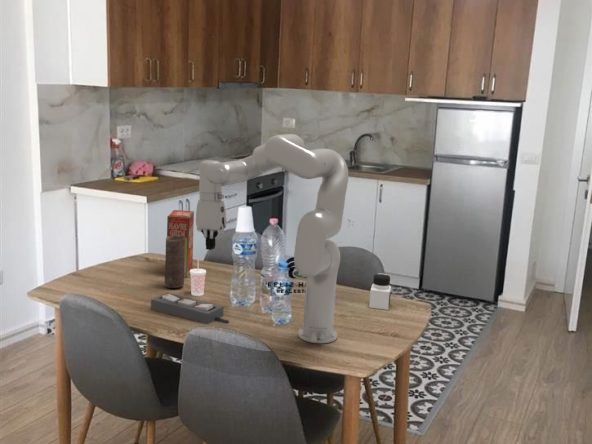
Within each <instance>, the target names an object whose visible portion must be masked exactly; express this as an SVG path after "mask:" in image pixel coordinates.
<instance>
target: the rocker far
mask: <svg viewBox="0 0 592 444" xmlns="http://www.w3.org/2000/svg"><path fill="white" fill-rule="evenodd" d="M171 294H172V293H171ZM171 294H166V295H164V296H162V299H163V300H166V301H170V302H176V301H178V300H180V298H177V297H175V296H173V295H171Z"/></svg>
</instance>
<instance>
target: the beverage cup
mask: <svg viewBox="0 0 592 444" xmlns="http://www.w3.org/2000/svg"><path fill="white" fill-rule="evenodd" d="M199 263H200V257H197V266H196V267H197V268H193V269H191V270H190V274H189V276H190V291H191V295H192V296H195V297H200V296H204V292H205V281H206V274H207V270H206V269H204V268H200V267H199V266H200V264H199Z"/></svg>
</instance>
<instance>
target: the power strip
mask: <svg viewBox="0 0 592 444" xmlns="http://www.w3.org/2000/svg"><path fill="white" fill-rule="evenodd" d="M166 294H171V295H173V296H175V297H177V298H180V300H183V299H188V300H192V301H196V304H195V305H193V306H186V305H182V304H178V301H180V300H178V301H176V302H170V301H166V300H163V299H162V296H164V295H166ZM199 304H213V308H212V309H210V310H207V311H206V310H202V309H198V308H195V306H197V305H199ZM150 309H151V310H153V311H158V312H161V313H165V314H168V315H173V316H176V317H180V318H184V319H189V320H191V321H195V322H198V323H203V324H207V325H209V324H211V323H212V322H215V321H218V322H222V323H225V324H229V323H230V320H229V319H226V318H222V317H224V311H225V310H224V305H220V304H216V303H212V302H207V301H203V300H200V299H199V300H198V299H195V298H192V297H191V298H190V297H188V296H184V295H180V294H175V293H171V292H165V293H163V294H161V295H158V296H156V297H153V298H150Z"/></svg>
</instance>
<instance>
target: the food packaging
mask: <svg viewBox="0 0 592 444" xmlns="http://www.w3.org/2000/svg"><path fill="white" fill-rule="evenodd" d="M194 216H195V211H194V210H181V209H180V210H178V209H174V210H172V212H171V213H169V215H167V217H166V218H167V220H166V221H167V223H166V225H167V227H166V237H169V236H170V237H171V236H177V235H182V236H185V258H184V279H185V278H189V276H190V270H191V269H194V267H193V262H194V261H193V260H194V259H193V257H194V256H193V255H194V253H193V251H194V226H195V225H194V222H195V217H194Z"/></svg>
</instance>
